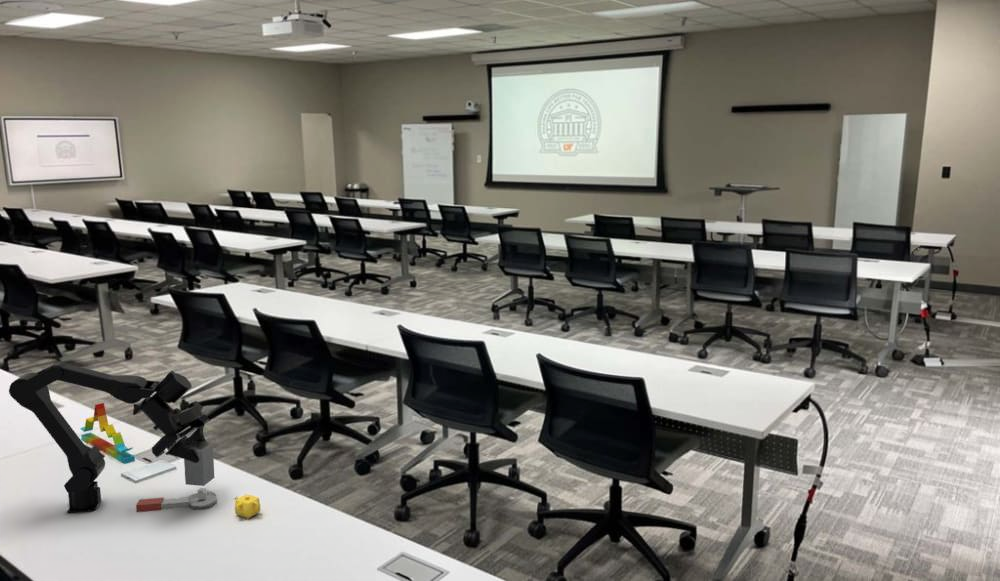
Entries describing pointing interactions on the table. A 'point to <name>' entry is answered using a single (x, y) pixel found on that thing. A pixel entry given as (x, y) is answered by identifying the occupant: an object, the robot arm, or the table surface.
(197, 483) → the brushed steel square block
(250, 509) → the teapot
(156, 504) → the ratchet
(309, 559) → the table surface
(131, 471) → the hard drive
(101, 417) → the chart
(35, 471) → the table surface
